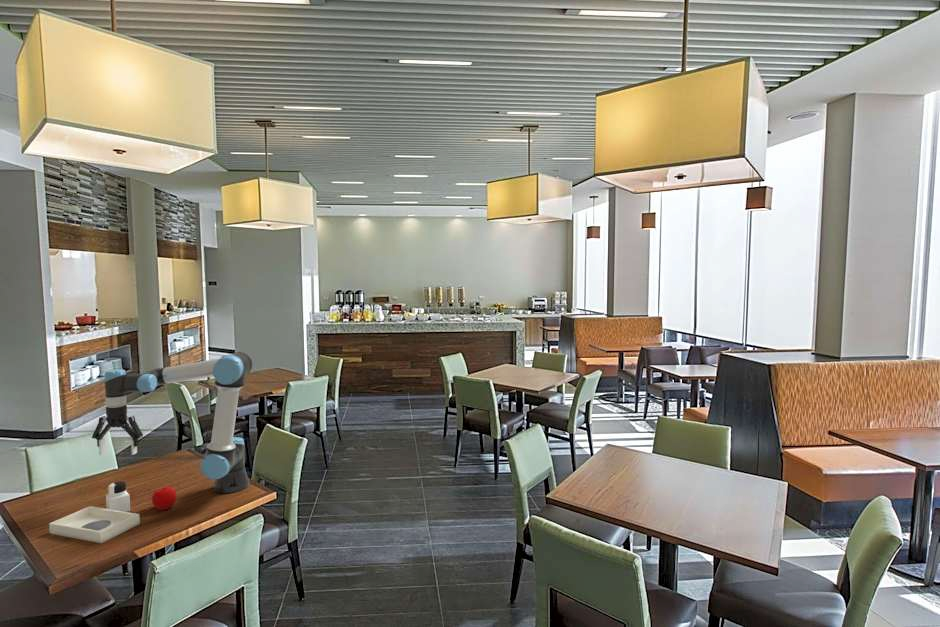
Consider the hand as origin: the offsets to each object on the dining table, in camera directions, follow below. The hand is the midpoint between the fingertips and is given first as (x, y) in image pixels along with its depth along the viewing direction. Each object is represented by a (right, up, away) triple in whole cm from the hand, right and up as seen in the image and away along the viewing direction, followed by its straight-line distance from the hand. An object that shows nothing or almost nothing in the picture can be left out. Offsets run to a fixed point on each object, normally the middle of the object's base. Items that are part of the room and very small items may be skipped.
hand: (118, 453), depth 228 cm
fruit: (+23, -22, -5) cm, 32 cm away
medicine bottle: (+5, -22, -8) cm, 24 cm away
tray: (+7, -23, -23) cm, 33 cm away
